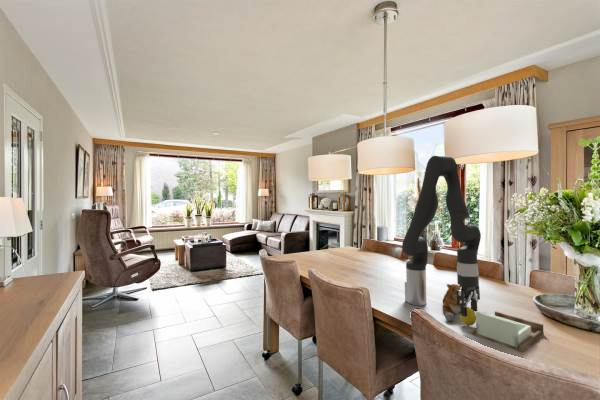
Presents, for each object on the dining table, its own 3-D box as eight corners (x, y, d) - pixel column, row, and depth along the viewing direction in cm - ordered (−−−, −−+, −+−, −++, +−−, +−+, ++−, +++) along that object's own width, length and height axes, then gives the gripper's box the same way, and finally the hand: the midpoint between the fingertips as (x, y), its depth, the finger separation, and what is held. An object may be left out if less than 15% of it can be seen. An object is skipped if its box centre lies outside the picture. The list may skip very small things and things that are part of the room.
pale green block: (476, 333, 107) (475, 312, 107) (491, 324, 114) (491, 304, 114) (517, 347, 96) (516, 324, 96) (531, 336, 103) (530, 315, 103)
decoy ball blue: (476, 319, 120) (476, 311, 120) (480, 317, 122) (480, 309, 122) (485, 322, 117) (485, 314, 117) (489, 320, 119) (489, 312, 119)
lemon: (470, 323, 117) (470, 304, 117) (479, 329, 112) (479, 309, 112) (457, 323, 117) (457, 304, 117) (465, 329, 111) (465, 309, 112)
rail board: (472, 333, 108) (471, 324, 108) (495, 320, 120) (495, 311, 120) (522, 352, 95) (522, 340, 95) (543, 334, 106) (543, 324, 106)
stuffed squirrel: (446, 316, 124) (445, 287, 124) (436, 305, 138) (436, 278, 138) (470, 318, 122) (470, 288, 122) (458, 306, 136) (458, 279, 136)
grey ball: (443, 320, 120) (443, 312, 120) (447, 318, 122) (447, 310, 122) (451, 323, 117) (451, 315, 117) (456, 321, 119) (455, 313, 119)
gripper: (466, 269, 121) (467, 306, 121) (449, 274, 113) (450, 314, 113) (485, 272, 115) (487, 312, 115) (468, 278, 107) (470, 320, 107)
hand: (469, 313), depth 114 cm, fingers open, 8 cm apart
